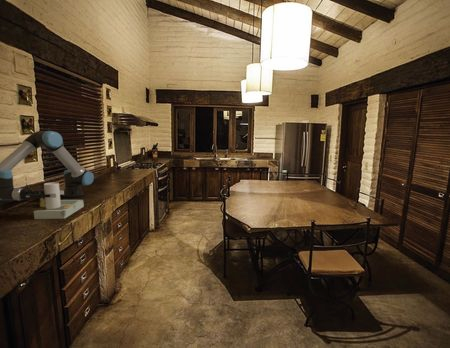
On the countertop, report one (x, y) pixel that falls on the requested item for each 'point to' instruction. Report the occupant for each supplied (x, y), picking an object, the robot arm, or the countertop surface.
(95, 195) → the countertop surface
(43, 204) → the cheese
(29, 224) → the countertop surface
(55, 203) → the cup
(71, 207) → the tray
